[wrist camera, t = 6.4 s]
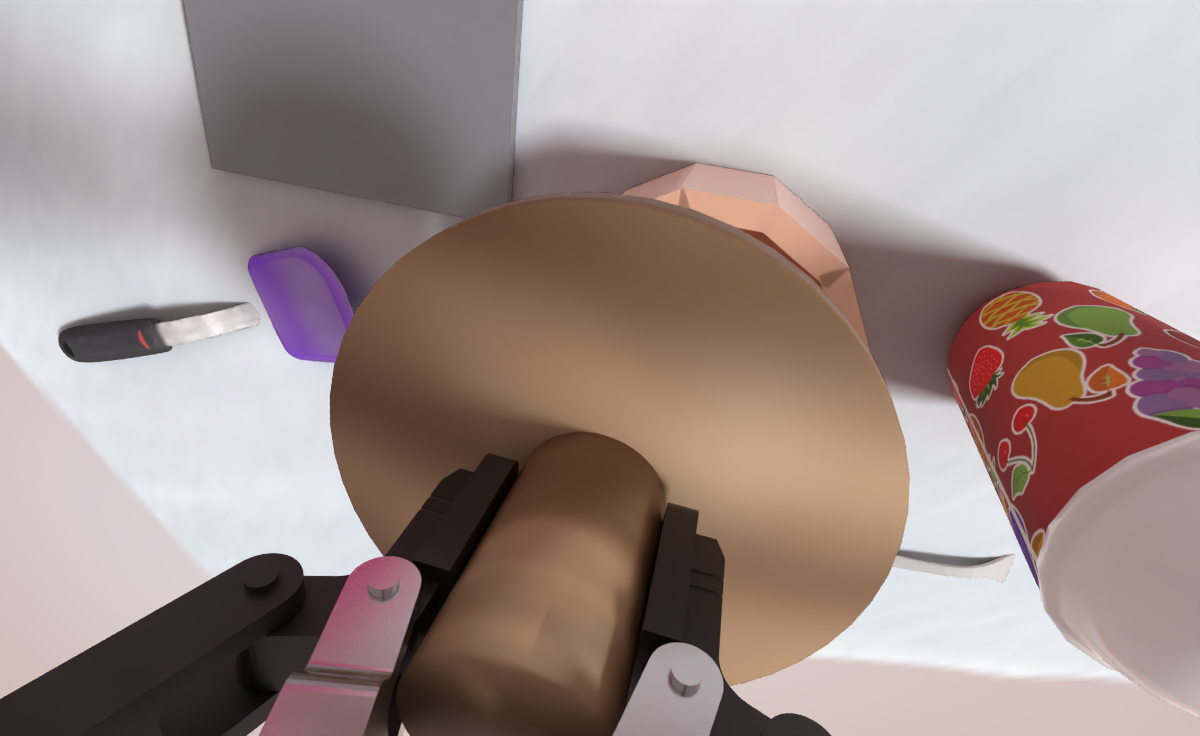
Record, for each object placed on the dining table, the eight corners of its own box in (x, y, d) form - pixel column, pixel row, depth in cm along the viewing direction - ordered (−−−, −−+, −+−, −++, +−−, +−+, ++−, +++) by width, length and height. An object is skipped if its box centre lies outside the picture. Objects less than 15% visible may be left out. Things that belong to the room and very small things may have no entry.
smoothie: (939, 442, 30) (1197, 983, 12) (902, 288, 27) (1169, 707, 10) (1147, 402, 27) (1879, 1042, 9) (1130, 223, 24) (2135, 663, 6)
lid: (336, 135, 13) (-23, 199, 7) (1016, 271, 11) (1316, 513, 5) (363, 585, 20) (189, 817, 14) (795, 717, 18) (814, 1051, 12)
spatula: (100, 385, 42) (65, 402, 40) (44, 292, 39) (3, 305, 37) (397, 347, 35) (374, 365, 33) (353, 231, 32) (324, 243, 30)
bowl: (595, 145, 27) (557, 165, 22) (883, 194, 25) (916, 229, 20) (567, 384, 33) (531, 445, 28) (799, 438, 31) (808, 513, 26)
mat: (153, -247, 24) (140, -254, 24) (535, -213, 22) (530, -219, 22) (220, 166, 32) (211, 168, 31) (510, 222, 30) (505, 225, 29)
